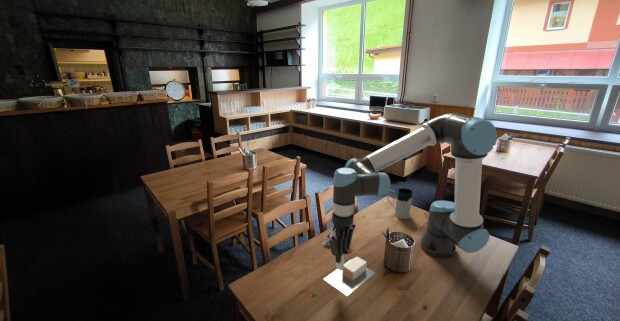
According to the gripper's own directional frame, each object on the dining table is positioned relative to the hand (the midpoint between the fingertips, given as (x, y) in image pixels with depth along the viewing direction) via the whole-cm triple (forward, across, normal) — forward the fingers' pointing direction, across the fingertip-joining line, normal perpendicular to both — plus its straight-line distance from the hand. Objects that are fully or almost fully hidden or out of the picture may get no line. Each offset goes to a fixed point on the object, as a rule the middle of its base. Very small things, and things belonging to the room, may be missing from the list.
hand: (339, 268), depth 107 cm
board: (+9, -6, 0) cm, 11 cm away
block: (+5, -5, 0) cm, 7 cm away
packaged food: (+9, -19, -18) cm, 28 cm away
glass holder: (+9, -68, -14) cm, 70 cm away
